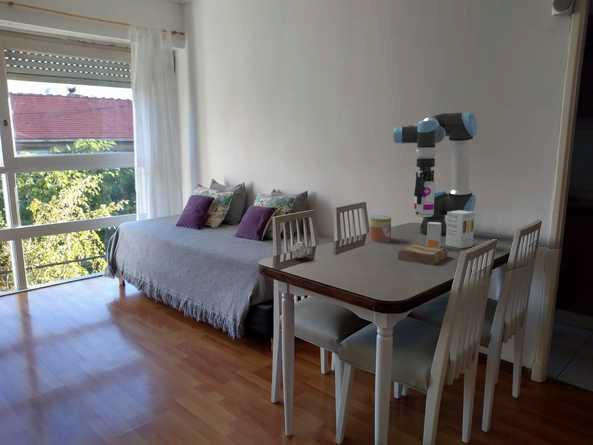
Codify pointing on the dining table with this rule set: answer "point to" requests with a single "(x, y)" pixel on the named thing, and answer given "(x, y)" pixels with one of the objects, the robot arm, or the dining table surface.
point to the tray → (422, 254)
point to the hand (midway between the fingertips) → (424, 210)
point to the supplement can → (426, 200)
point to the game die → (299, 250)
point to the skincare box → (434, 234)
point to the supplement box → (460, 228)
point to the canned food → (380, 228)
